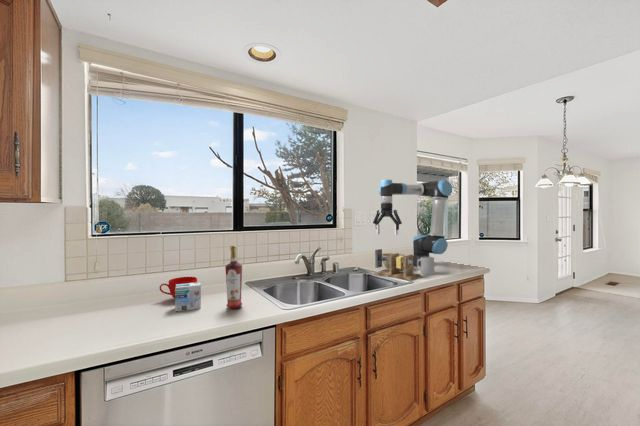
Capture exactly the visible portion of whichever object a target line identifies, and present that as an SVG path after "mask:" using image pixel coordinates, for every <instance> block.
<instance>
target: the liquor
mask: <svg viewBox="0 0 640 426" xmlns="http://www.w3.org/2000/svg"><path fill="white" fill-rule="evenodd" d="M237 248H238V246H237V245H235V244H233V245H230V248H229V249H230V260H229V261H230V262H229V263H228V264H226V265H225V283H226V297H227V302H226V303H227V304H226V307H227V308H228V309H229V310H237V309H240V307H241V306H242V305H243V303H242V285H243V283H242V279H243V264H241V263H239V262H238V258H237Z"/></svg>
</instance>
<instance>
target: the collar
mask: <svg viewBox="0 0 640 426" xmlns="http://www.w3.org/2000/svg"><path fill="white" fill-rule="evenodd" d="M402 259H403V256H399V257H396V268H400V270H401V269H403V263H402Z"/></svg>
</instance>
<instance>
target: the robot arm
mask: <svg viewBox="0 0 640 426" xmlns="http://www.w3.org/2000/svg"><path fill="white" fill-rule="evenodd" d="M452 193H453V186H452V184H451V182H450V181H448V180H446V179H439V180H433V181H427V182H422V183H421V182H419V183H417V184H406V183H403V182H393V180H392V179H389V178H388V179H387V178H385V179H381V180H380V186H379V187H378V194H379V195H380V208H381V210H380V209H378V210H376V214H375V217H374V219H373V221H372V224H374V225H375V230H376V235H380V233H381V231H380V230H381V228H380V227H381V226H380V223H381V222H382V220H383V218H386V217H388V218H389V219H391V220H392V222H393V223H394V236H399V230H400V225H402V224H403V222H402V220H401V218H400V216H399V213H398V210H397V209H393V196H397V195H398V196H401V195H402V196H406V195H408V196H409V195H411V196H412V195H416V196H418V197H420V196H421V197H430V198H431V200H432V209H431V219H430V230H429V233H428V234H426V235H425V234H424V235H414V236H413V240H412V243H413V244H412V245H413V246H412V247H413V250H412V251H413V254H412V255H413V267H418V266H417V261H418V259H421V257H431V256H430V254H434V255H442V254H444V253H446V251H447V249H448V244H449V243H448V241H447V239H446V238H445V235H444V223H445V211H446V210H445V209H446V201H447V200H448V198H449V196H451V195H452ZM419 266H420V267H421V261H419Z"/></svg>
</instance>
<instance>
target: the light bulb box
mask: <svg viewBox="0 0 640 426" xmlns="http://www.w3.org/2000/svg"><path fill="white" fill-rule="evenodd" d="M201 285H202V283H201V282H200V281H199V282H198V281H197V282H196V283H186V284H176V287H175V299H174V304H175V305H174V311H175V313H176V311H178V312H183V311H185V310H186V311H192V310H193V311H194V310H201V308H202V303H201V302H202V286H201ZM186 311H185V312H186Z"/></svg>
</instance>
